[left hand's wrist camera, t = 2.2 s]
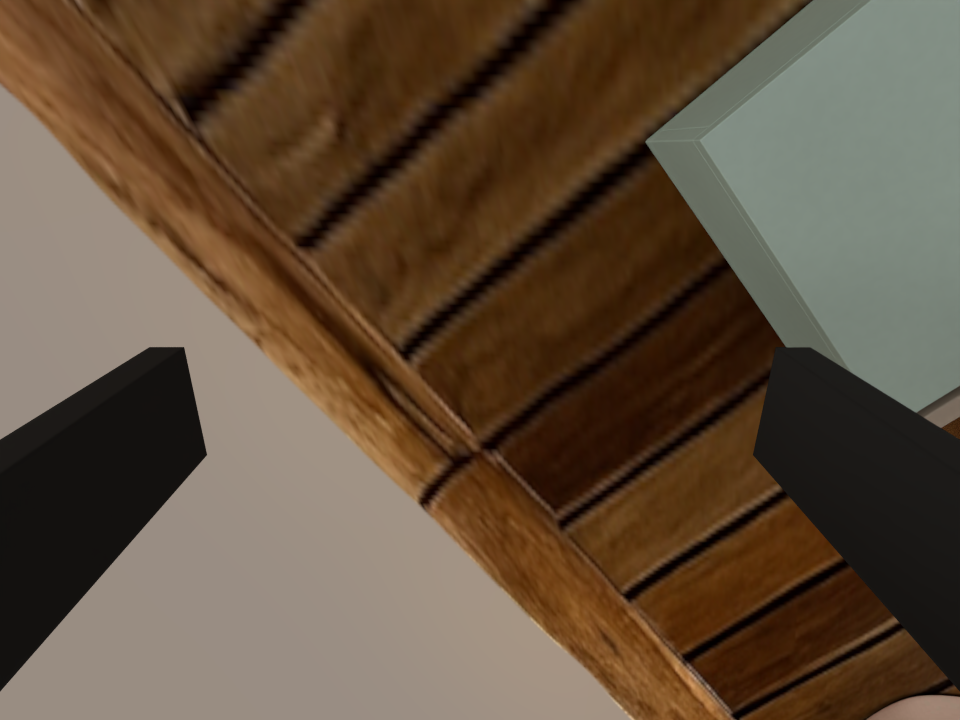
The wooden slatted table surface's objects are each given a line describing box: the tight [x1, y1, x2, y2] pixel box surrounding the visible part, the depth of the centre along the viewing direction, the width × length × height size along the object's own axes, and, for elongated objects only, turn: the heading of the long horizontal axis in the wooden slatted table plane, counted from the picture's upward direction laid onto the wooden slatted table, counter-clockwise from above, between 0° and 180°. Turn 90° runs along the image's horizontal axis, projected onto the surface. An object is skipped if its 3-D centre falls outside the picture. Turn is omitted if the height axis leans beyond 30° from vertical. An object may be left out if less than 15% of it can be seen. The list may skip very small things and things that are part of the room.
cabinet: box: [646, 0, 960, 412], centre depth 27 cm, size 18×11×8 cm, turn 40°
